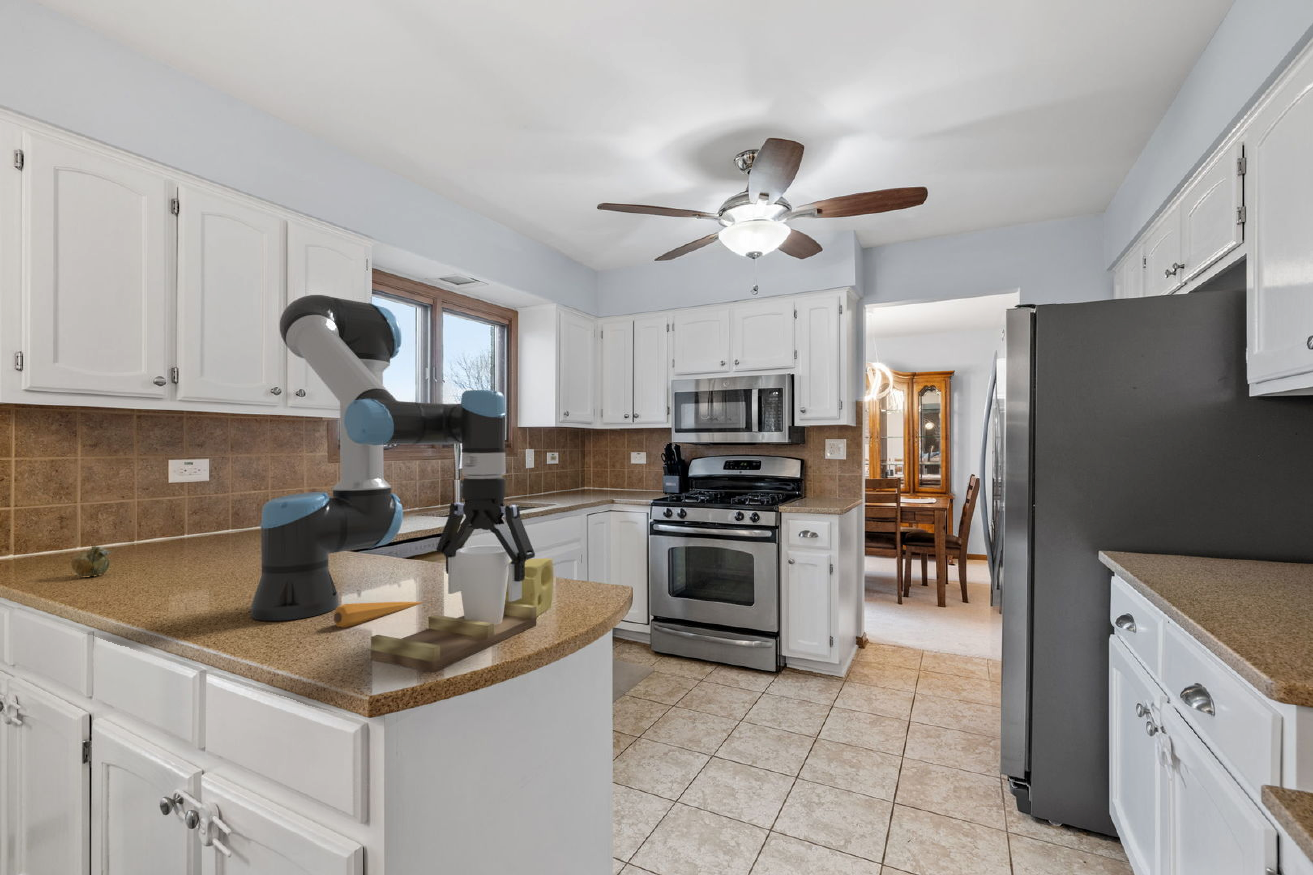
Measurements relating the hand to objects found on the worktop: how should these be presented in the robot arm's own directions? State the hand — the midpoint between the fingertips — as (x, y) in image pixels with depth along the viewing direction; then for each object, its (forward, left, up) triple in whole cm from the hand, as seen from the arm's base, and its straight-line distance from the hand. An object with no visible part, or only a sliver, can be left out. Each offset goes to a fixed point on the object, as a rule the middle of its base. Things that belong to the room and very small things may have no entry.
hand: (484, 595), depth 108 cm
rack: (0, -6, -6) cm, 9 cm away
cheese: (-2, +12, -7) cm, 14 cm away
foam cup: (0, 0, -5) cm, 5 cm away
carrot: (-25, 0, -7) cm, 26 cm away
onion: (-124, -5, -7) cm, 124 cm away
